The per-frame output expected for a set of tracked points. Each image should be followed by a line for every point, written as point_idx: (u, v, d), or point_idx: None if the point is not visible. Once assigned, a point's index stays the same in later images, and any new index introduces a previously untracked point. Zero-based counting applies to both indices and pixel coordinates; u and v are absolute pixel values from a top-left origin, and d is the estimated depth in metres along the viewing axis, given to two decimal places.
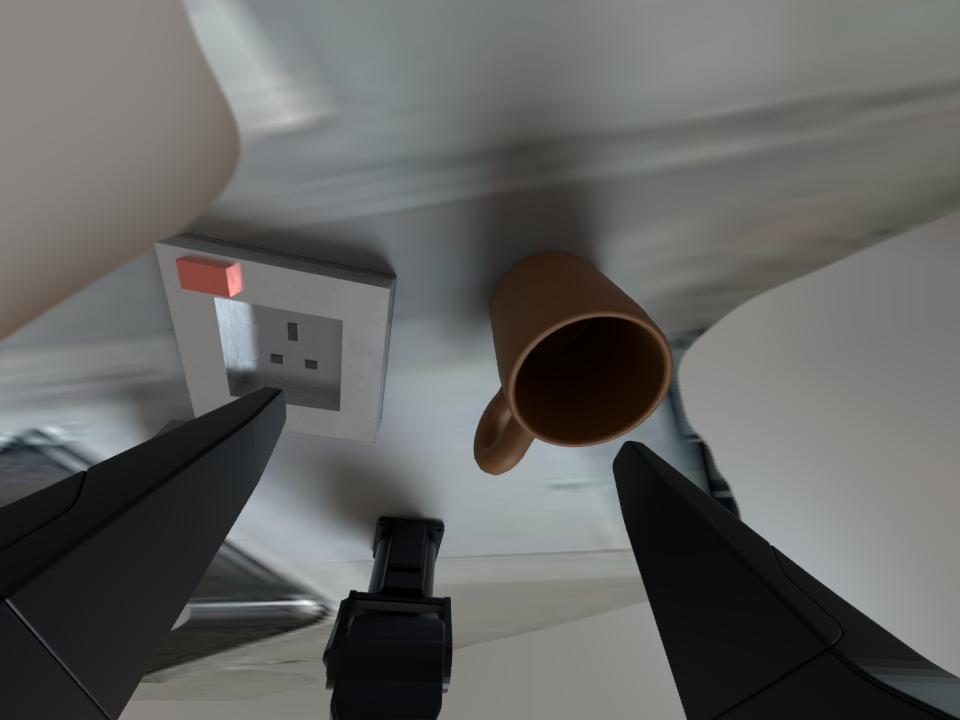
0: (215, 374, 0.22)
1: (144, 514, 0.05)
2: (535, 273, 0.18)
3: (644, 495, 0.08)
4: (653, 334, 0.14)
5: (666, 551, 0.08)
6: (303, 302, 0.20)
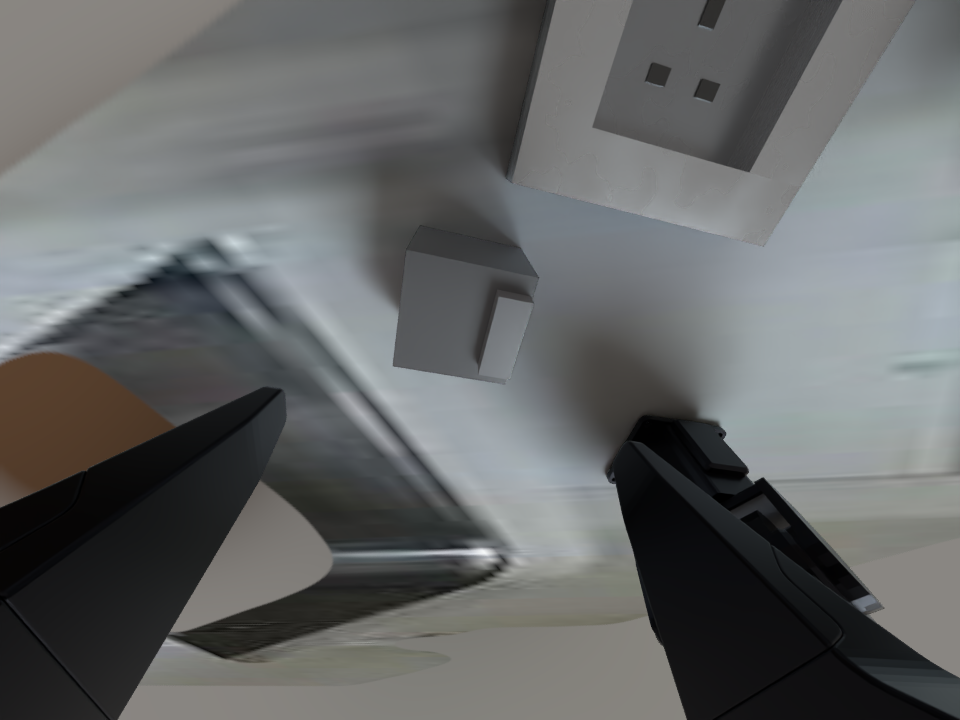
0: (591, 70, 0.12)
1: (144, 514, 0.05)
2: None
3: (644, 495, 0.08)
4: None
5: (667, 551, 0.08)
6: None
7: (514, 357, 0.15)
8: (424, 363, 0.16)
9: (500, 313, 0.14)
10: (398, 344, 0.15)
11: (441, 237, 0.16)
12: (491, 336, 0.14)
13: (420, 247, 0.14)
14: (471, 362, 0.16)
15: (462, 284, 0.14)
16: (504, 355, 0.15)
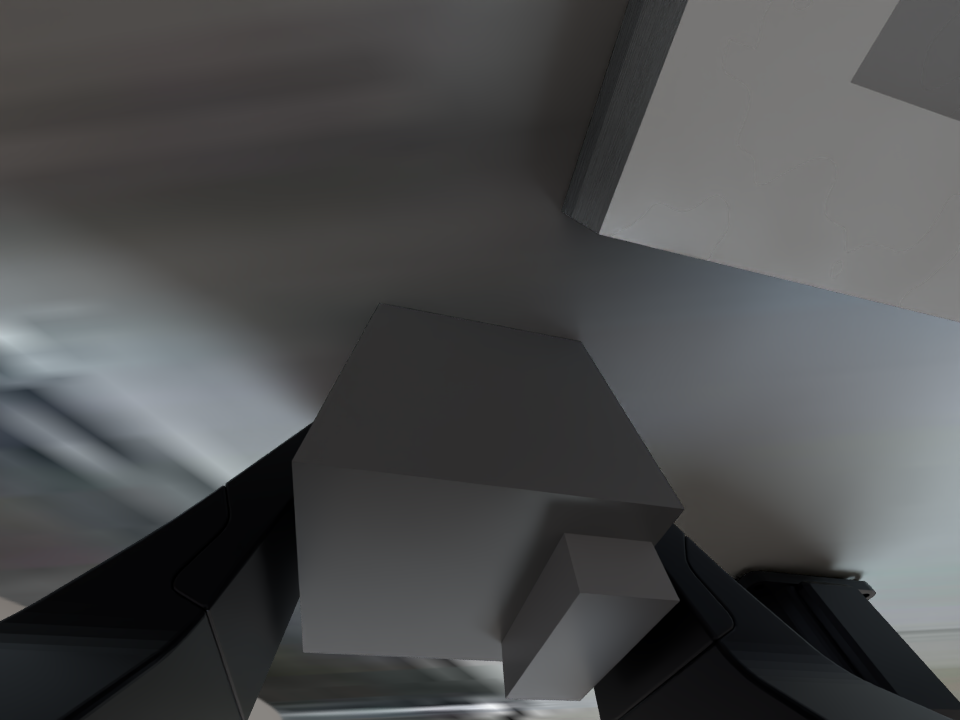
0: None
1: (284, 527, 0.05)
2: None
3: None
4: None
5: None
6: None
7: (599, 675, 0.06)
8: (377, 645, 0.07)
9: (578, 620, 0.05)
10: (309, 625, 0.06)
11: (419, 344, 0.07)
12: (546, 653, 0.05)
13: (349, 424, 0.05)
14: (488, 641, 0.07)
15: (467, 527, 0.05)
16: (573, 674, 0.06)
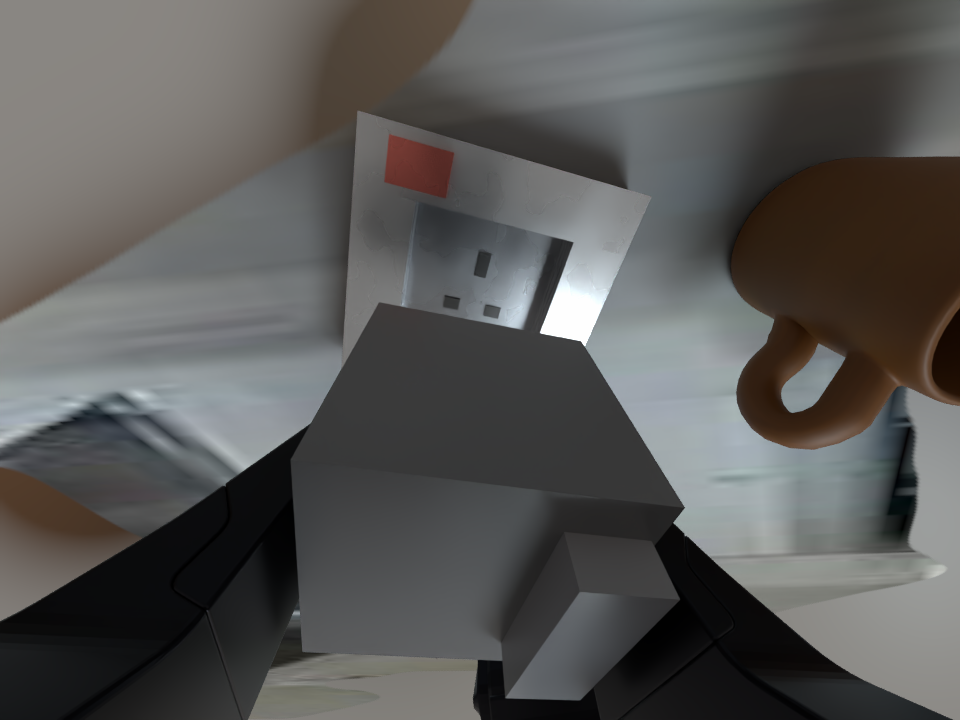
0: None
1: (284, 527, 0.05)
2: (885, 167, 0.13)
3: None
4: None
5: None
6: (531, 213, 0.15)
7: (599, 675, 0.06)
8: (377, 644, 0.07)
9: (578, 619, 0.05)
10: (308, 624, 0.06)
11: (419, 343, 0.07)
12: (546, 652, 0.05)
13: (348, 422, 0.05)
14: (487, 640, 0.07)
15: (467, 526, 0.05)
16: (574, 673, 0.06)
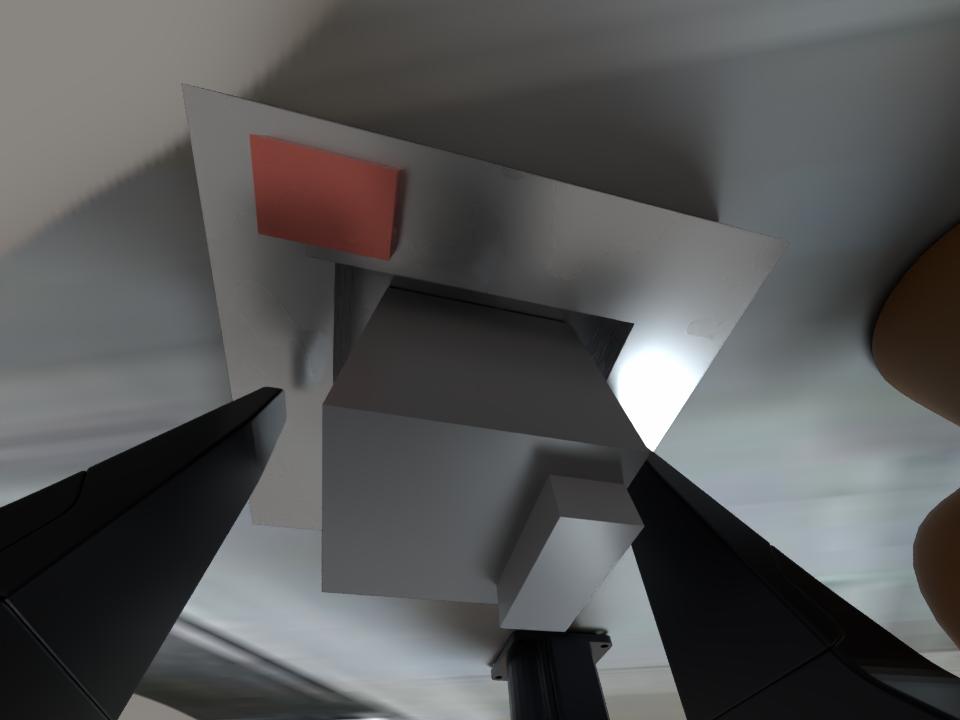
0: (307, 443, 0.10)
1: (144, 514, 0.05)
2: None
3: (644, 495, 0.08)
4: None
5: (666, 551, 0.08)
6: (557, 277, 0.08)
7: (580, 604, 0.07)
8: (387, 586, 0.08)
9: (560, 544, 0.06)
10: (328, 563, 0.07)
11: (424, 322, 0.08)
12: (533, 579, 0.06)
13: (367, 380, 0.06)
14: (485, 583, 0.08)
15: (466, 468, 0.06)
16: (559, 602, 0.07)
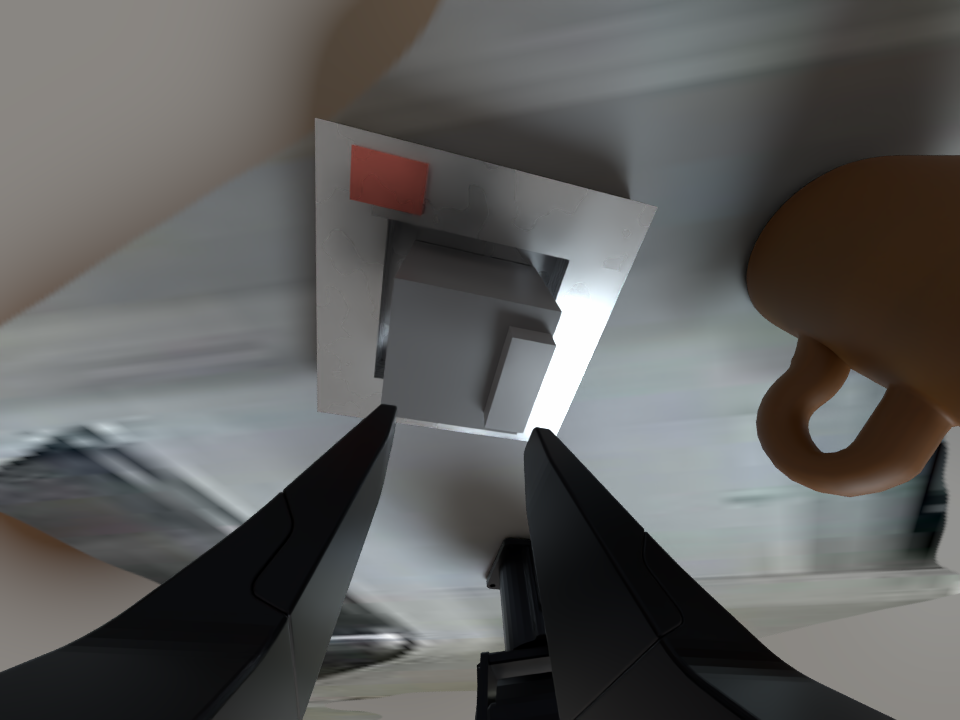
0: (360, 345, 0.15)
1: (342, 533, 0.05)
2: (933, 169, 0.11)
3: (540, 482, 0.08)
4: None
5: (556, 540, 0.07)
6: (520, 229, 0.13)
7: (529, 408, 0.12)
8: (418, 411, 0.13)
9: (514, 357, 0.11)
10: (386, 390, 0.12)
11: (440, 256, 0.13)
12: (501, 385, 0.11)
13: (413, 273, 0.11)
14: (476, 410, 0.13)
15: (465, 320, 0.11)
16: (517, 405, 0.12)
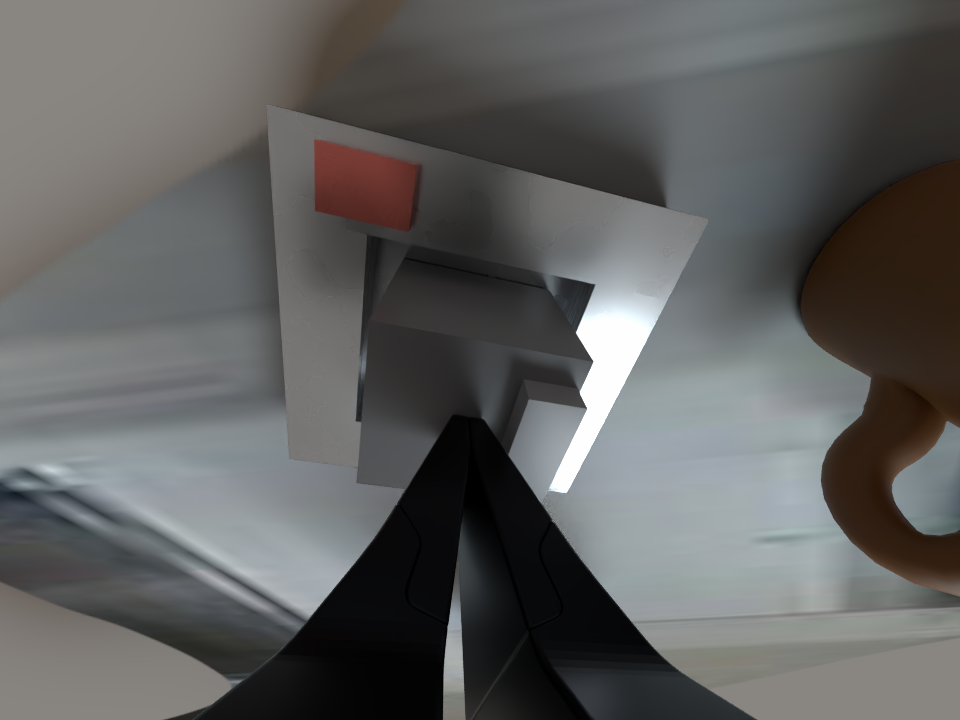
0: (338, 385, 0.12)
1: None
2: None
3: None
4: None
5: None
6: (535, 247, 0.10)
7: (548, 481, 0.09)
8: (406, 478, 0.10)
9: (530, 423, 0.08)
10: (363, 455, 0.09)
11: (433, 281, 0.10)
12: (513, 455, 0.09)
13: (396, 310, 0.08)
14: None
15: (466, 372, 0.08)
16: (532, 478, 0.09)
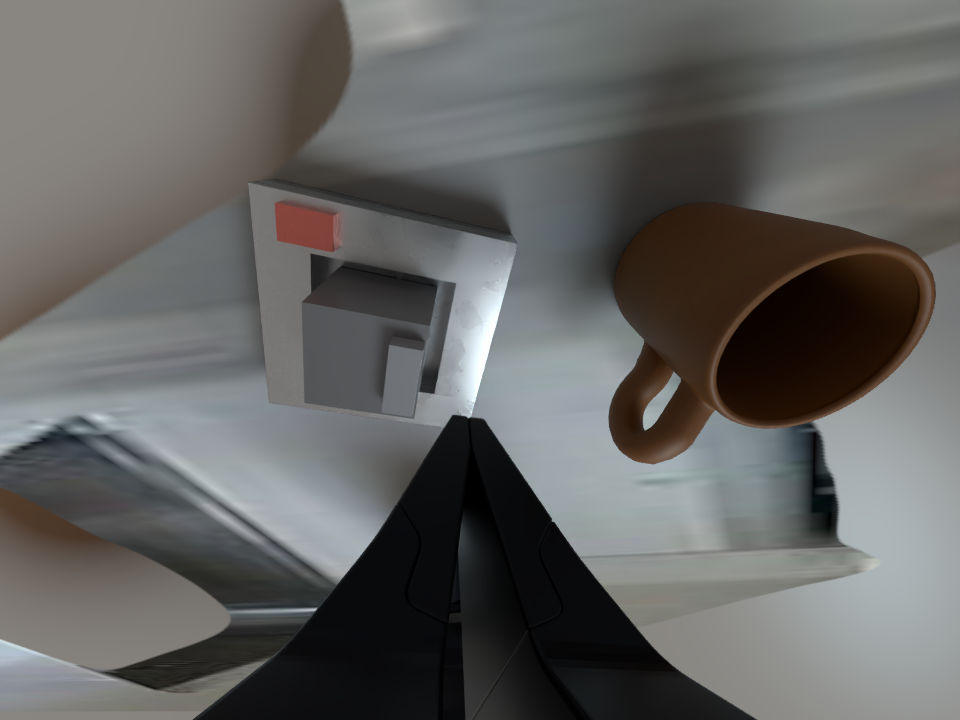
0: (299, 349, 0.19)
1: None
2: (707, 219, 0.15)
3: None
4: (921, 279, 0.11)
5: None
6: (414, 260, 0.17)
7: (413, 397, 0.16)
8: (334, 400, 0.17)
9: (393, 359, 0.15)
10: (306, 383, 0.16)
11: (353, 281, 0.17)
12: (388, 379, 0.15)
13: (319, 297, 0.15)
14: (379, 399, 0.17)
15: (358, 332, 0.15)
16: (403, 395, 0.16)
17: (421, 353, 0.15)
